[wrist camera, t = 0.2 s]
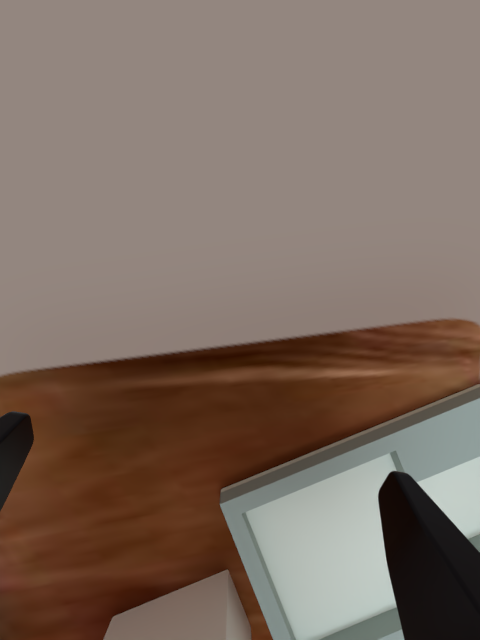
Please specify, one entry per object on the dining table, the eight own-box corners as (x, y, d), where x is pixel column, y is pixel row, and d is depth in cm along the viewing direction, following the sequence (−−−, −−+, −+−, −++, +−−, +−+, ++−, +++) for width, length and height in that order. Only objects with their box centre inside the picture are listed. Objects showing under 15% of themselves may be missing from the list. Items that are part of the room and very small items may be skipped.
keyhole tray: (556, 549, 24) (585, 570, 22) (289, 661, 23) (294, 692, 21) (487, 380, 24) (511, 385, 22) (220, 489, 23) (219, 504, 21)
